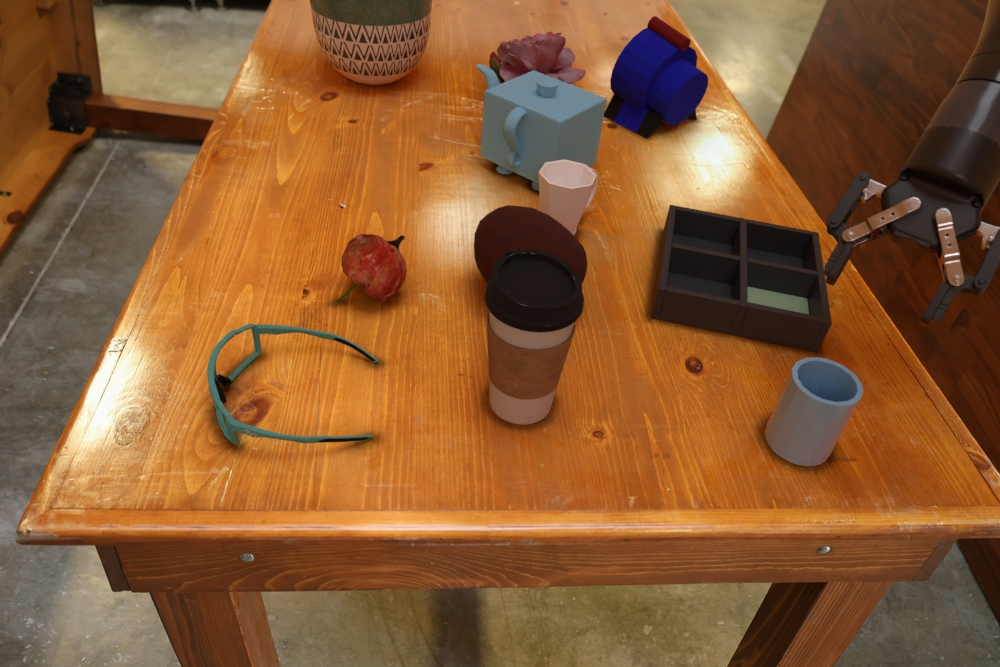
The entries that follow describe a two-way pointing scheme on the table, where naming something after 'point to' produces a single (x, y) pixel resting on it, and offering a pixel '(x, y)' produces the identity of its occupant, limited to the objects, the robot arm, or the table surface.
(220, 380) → the sunglasses
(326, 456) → the table surface
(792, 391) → the blue cup
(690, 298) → the black divided tray
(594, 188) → the cup
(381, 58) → the planter
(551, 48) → the flower
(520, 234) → the dark brown oval ball
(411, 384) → the table surface
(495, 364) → the coffee cup
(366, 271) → the pomegranate
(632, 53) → the alarm clock
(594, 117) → the teapot
